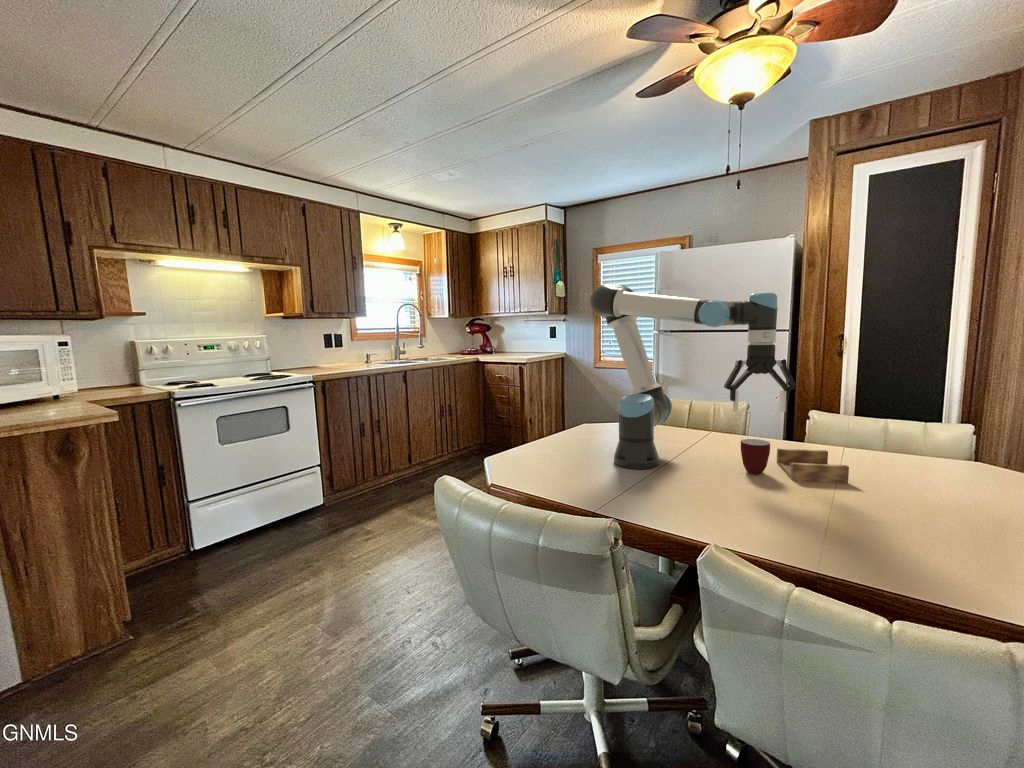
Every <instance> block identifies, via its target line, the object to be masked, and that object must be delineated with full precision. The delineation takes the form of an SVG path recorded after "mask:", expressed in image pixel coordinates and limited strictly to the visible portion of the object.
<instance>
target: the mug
mask: <svg viewBox="0 0 1024 768" xmlns="http://www.w3.org/2000/svg"><path fill="white" fill-rule="evenodd" d="M770 452H771V442H770V441H768V440H764V439H759V438H745V439H741V440H740V455H741V462H742V465H743V467H744V468H745V471H746V472H747V473H748V474H750V475H754V476H755V475H756V476H760V475H762V474H763V473H764V471H765V470H766V468H767V466H768V462H769V457H770Z"/></svg>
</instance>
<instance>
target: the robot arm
mask: <svg viewBox="0 0 1024 768" xmlns="http://www.w3.org/2000/svg"><path fill="white" fill-rule="evenodd" d="M589 306H590V308H591V310H592V312H593V313H595V314H596V316H599V317H603V318H605V320H606V324H607V326H608V327H609V328H612V330H613V332H614V335H615V339H616V341H617V345H618V347H619V351H620V354H621V356H622V360H623V363H624V367H625V369H626V373H627V375H628V379H629V383H630V385H631V388H632V389H631V392H630V393H629V394H627V395H624V396H622V397H621V398H619V401H618V407H617V411H618V442H617V446H616V449H615V452H614V455H613V462H614V464H615V465H616V464H617V465H616V466H618V465H619V466H618V467H621V468H626V469H629V470H630V469H631V470H648V469H653V468H654V469H655V468H656V467H658V466H659V465H660V456H659V454H658V450H657V447H656V445H655V441H654V438H655V436H654V435H655V434H654V432H655V431H654V430H655V427H656V426H658V425H662V424H664V422H666V421H667V420H668V419H669V418H670V416H671V415H672V413H673V403H672V401H671V400H672V399H670V397H669V396H668V395H667V394H665V393H664V389H663V388H662V387H663V386H662V385H661V384H659V383H658V382H656V379H655V377H654V373H653V370H652V367H651V364H650V360H649V358H648V355H647V352H646V349H645V345H644V343H643V340H642V336H641V333H640V330H639V327H638V325H637V319H638V317H642V318H650V319H658V320H665V321H673V322H680V323H689V324H697V325H702V326H707V327H711V328H717V327H723V326H725V327H726V326H740V325H741V326H746V325H747V327H748V328H747V330H748V331H747V343H749V344H747V351H746V353H747V354H746V357H747V358H746V360H743V359H736V360H735V363H734V364H735V365H734V367H733V369H732V371H731V373H730V374H729V376H728V377H727V379H726V382H725V383H724V385H723V388H724V389H726V390H729V399H730V401H731V402H732V411H734V412H736V413H737V412H739V391H738V390H737V389H739V388H740V387H741V385H742V384H743V383H744V382H745V381H747V379H748V378H749V377H750V376H752V375H753V374H755V375H760V374H762V375H767V374H769V375H770V376H771V377H772V378H773V380H774V381H775V382H776V383H777V384H778V385H779V386H780V387H781V388H782V389H780V390H779V404H778V406H779V407H778V410H779V411H780V412H782V413H786V407H787V406H786V403H787V402H789V401H790V392H791V391H792V390H796V389H797V388H798V386H797V384H796V382H795V380H794V378H793V376H792V374H791V372H790V370H789V368H788V366H787V365H788V364H787V359H785V358H779V359H776V345H775V343H776V341H777V340H776V339H777V322H778V321H777V320H778V309H779V308H778V296H777V294H776V293H774V292H758V293H751V294H750V295H749V298H748V300H739V301H738V300H737V301H733V300H732V301H723V300H717V299H716V300H715V299H701V298H693V297H692V298H691V297H680V296H671V295H662V294H652V293H651V294H650V293H649V294H648V293H640V292H639V293H638V292H635V291H634V290H633V289H632V288H630V287H628V286H625V285H623V284H622V285H621V284H620V285H619V284H602V285H599V286H597V287H595V288H594V289H593V291H592V292H591V294H590V297H589ZM776 365H777V367H779V368H780V371H781V373H782V374H783V377H784V379H785V381H786V382H785V381H784V380H783V378H782V377H781V376H780V375H779V374H778V373H777V371H776V370H775V369H774V367H775V366H776ZM744 366H746V369H745V370H744V372H743V373H742V374H741V375H740V376H739V377H738V375H739V373H740V371H741V370H742V368H743V367H744ZM737 377H738V378H737ZM736 378H737V380H736Z"/></svg>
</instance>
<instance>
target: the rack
mask: <svg viewBox="0 0 1024 768" xmlns="http://www.w3.org/2000/svg"><path fill="white" fill-rule="evenodd" d="M828 456H829V451H828V450H824V449H800V448H798V449H797V448H776V464H777V465H778V467H779V468H780V469H781V470H782V471H783V472H784V473H785V474H786V475H787V477H789V479H790V480H792V482H793V481H795V482H796V481H797V482H798V481H799V482H813V483H814V482H815V483H827V484H829V483H831V484H849V474H850V473H849V472H850V466H848V465H847V464H829V462H828V461H829V457H828Z"/></svg>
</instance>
